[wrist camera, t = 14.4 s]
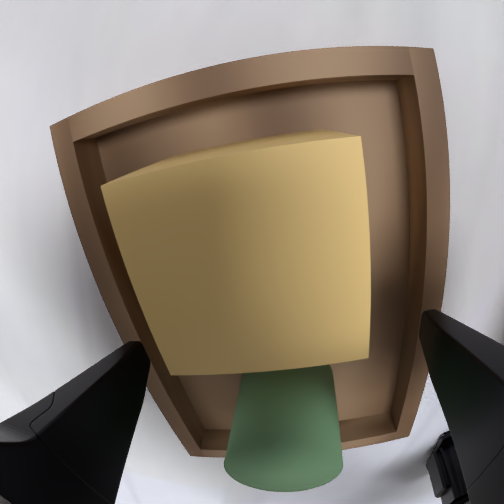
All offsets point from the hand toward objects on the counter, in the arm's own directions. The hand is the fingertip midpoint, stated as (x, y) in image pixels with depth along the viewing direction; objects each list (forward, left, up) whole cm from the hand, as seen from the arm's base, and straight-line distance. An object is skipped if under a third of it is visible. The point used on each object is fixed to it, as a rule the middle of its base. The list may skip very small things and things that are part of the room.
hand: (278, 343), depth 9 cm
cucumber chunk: (0, +6, -4) cm, 7 cm away
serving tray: (0, +2, -5) cm, 5 cm away
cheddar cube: (0, -3, -4) cm, 5 cm away
